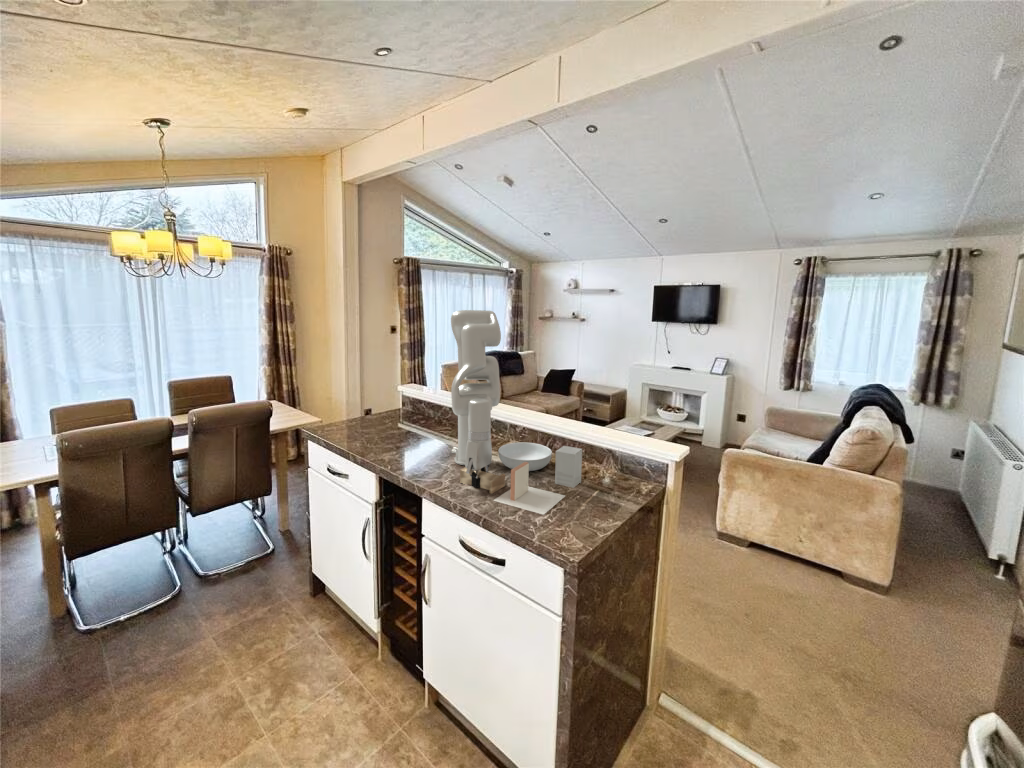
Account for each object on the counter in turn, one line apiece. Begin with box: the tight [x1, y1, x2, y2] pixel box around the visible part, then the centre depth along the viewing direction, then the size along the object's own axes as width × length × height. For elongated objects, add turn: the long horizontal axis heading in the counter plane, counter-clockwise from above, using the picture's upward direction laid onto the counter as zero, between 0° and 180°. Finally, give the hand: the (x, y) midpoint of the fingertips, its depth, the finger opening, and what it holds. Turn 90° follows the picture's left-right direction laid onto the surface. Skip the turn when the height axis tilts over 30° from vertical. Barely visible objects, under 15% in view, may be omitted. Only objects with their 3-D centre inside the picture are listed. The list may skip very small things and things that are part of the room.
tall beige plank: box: [459, 467, 506, 495], centre depth 152 cm, size 15×8×5 cm, turn 59°
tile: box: [510, 462, 530, 501], centre depth 143 cm, size 2×9×10 cm, turn 149°
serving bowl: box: [497, 441, 553, 472], centre depth 171 cm, size 21×21×7 cm
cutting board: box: [492, 485, 566, 516], centre depth 142 cm, size 18×16×1 cm
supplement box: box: [554, 445, 583, 489], centre depth 155 cm, size 7×7×13 cm
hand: (479, 485), depth 152 cm, fingers closed on tall beige plank, 3 cm apart
